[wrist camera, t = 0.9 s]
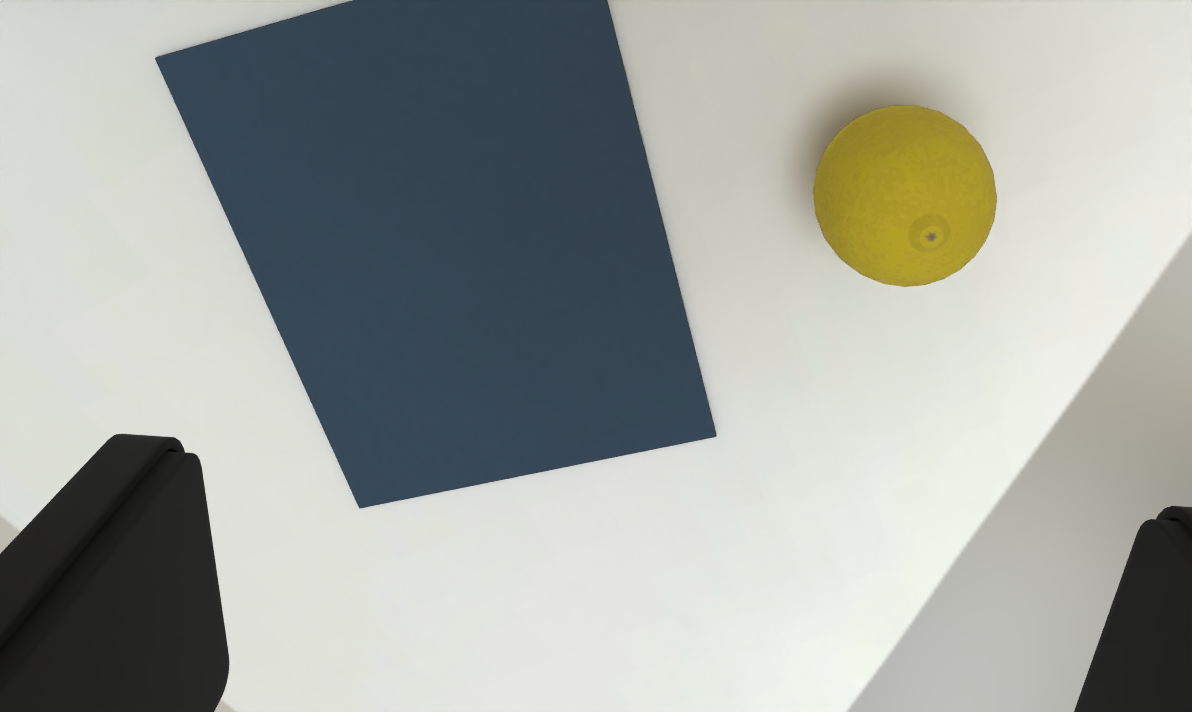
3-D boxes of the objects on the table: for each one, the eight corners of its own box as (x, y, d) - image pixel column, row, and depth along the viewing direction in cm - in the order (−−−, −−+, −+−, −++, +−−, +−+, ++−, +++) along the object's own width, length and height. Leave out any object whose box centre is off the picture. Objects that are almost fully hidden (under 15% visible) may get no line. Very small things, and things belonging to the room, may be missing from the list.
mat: (156, 56, 36) (154, 58, 35) (589, -69, 33) (589, -68, 33) (360, 506, 44) (359, 508, 44) (716, 434, 42) (716, 437, 41)
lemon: (963, 78, 35) (1044, 139, 27) (947, 229, 37) (1017, 321, 30) (801, 86, 35) (839, 148, 28) (796, 235, 37) (830, 327, 30)
